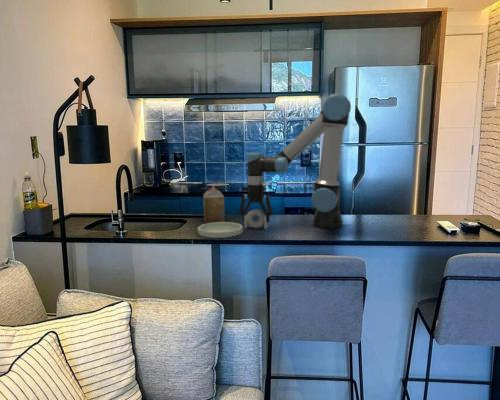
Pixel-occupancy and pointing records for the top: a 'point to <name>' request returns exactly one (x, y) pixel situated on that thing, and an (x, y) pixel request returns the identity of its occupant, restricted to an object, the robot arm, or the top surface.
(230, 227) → the plate
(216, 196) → the milk carton
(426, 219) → the top surface
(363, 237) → the top surface
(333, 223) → the robot arm
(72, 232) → the top surface
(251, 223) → the donut
